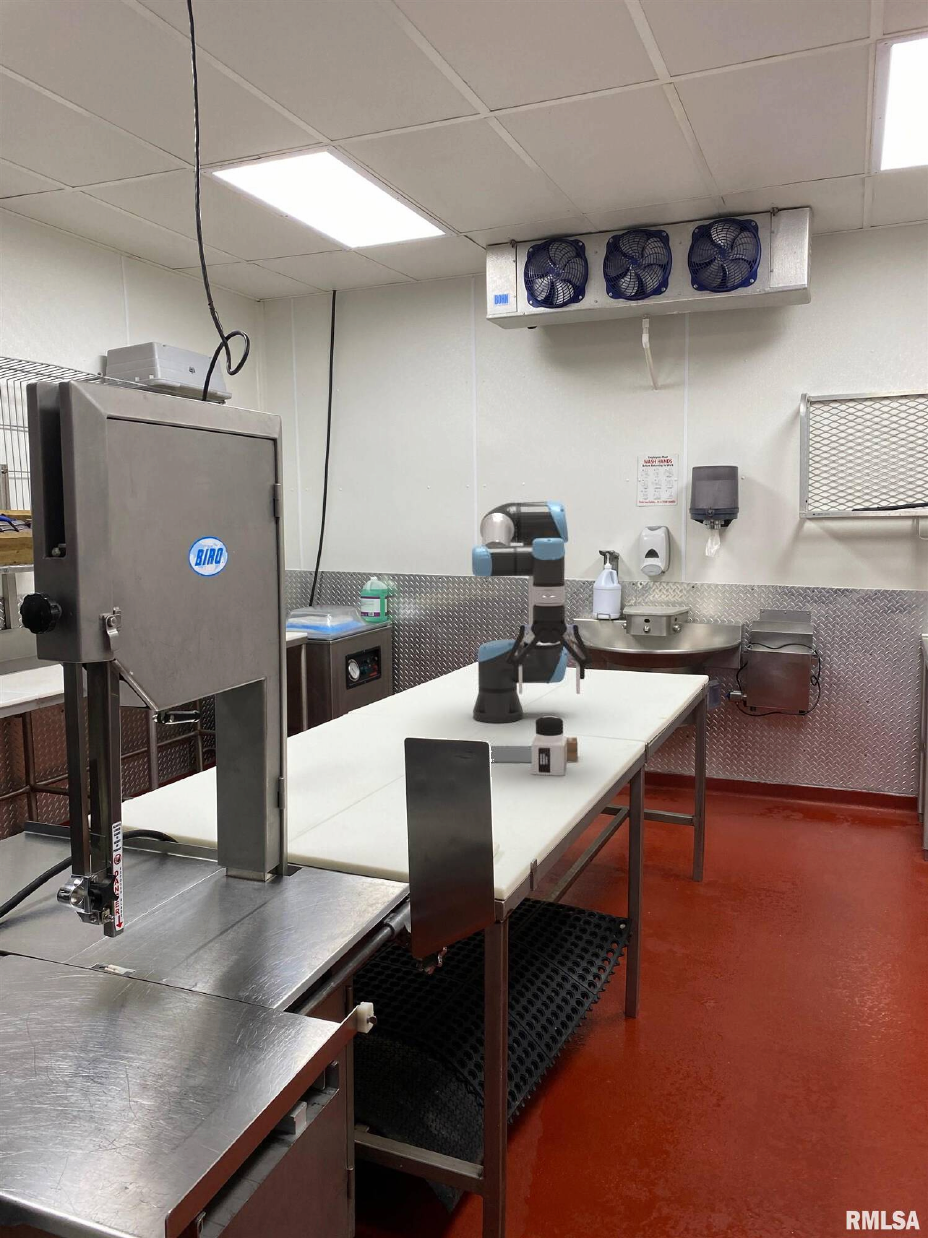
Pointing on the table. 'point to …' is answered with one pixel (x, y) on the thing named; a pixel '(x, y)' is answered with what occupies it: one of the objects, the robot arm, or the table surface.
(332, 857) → the table surface
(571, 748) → the letter cube
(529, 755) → the rubber mat
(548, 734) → the container
